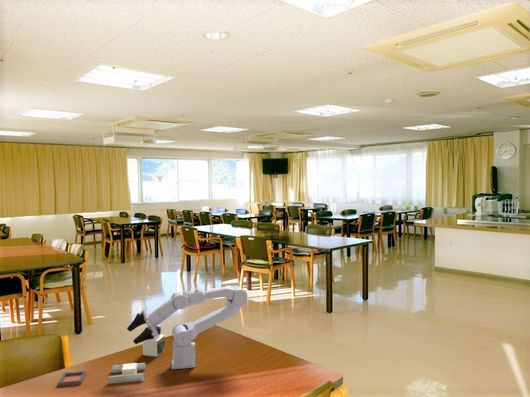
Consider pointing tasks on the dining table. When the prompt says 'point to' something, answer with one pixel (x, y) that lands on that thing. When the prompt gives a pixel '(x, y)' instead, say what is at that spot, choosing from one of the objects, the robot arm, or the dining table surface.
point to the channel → (126, 377)
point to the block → (129, 369)
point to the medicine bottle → (154, 344)
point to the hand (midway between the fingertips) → (131, 336)
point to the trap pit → (72, 378)
